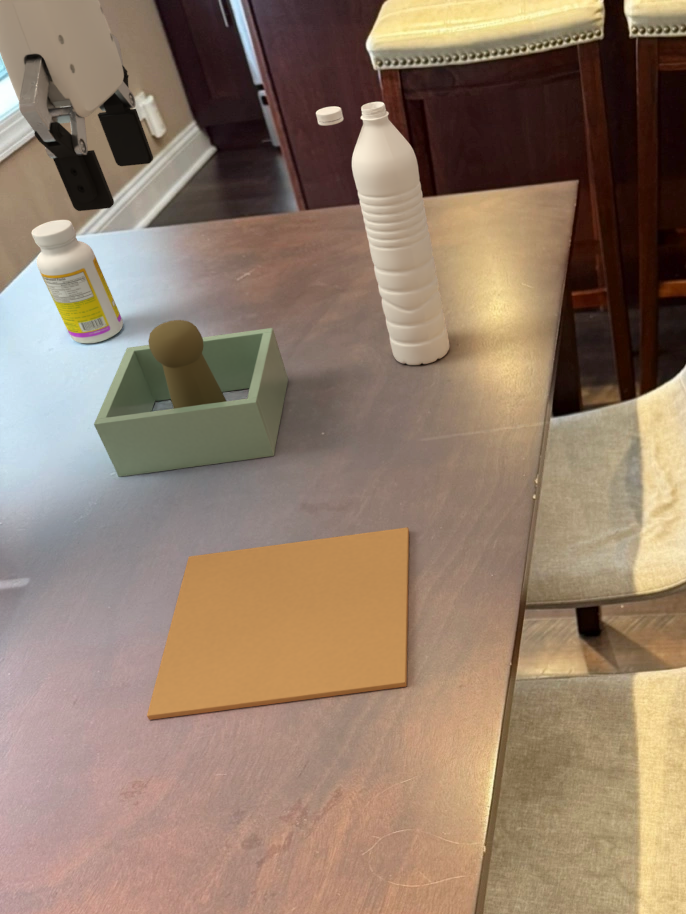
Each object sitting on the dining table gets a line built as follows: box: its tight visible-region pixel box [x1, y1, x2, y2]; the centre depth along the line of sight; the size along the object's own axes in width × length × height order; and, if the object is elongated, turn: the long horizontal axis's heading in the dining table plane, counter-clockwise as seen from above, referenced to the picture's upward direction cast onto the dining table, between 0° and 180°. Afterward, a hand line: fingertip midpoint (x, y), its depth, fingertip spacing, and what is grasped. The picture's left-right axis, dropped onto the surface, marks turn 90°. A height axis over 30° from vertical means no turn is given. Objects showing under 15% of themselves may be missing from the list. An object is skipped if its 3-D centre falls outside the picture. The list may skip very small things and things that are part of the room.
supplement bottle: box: [31, 219, 124, 344], centre depth 122 cm, size 7×7×13 cm
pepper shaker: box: [147, 319, 227, 409], centre depth 103 cm, size 6×6×11 cm
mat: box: [146, 526, 410, 721], centre depth 84 cm, size 20×20×1 cm
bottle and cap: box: [315, 101, 450, 366], centre depth 105 cm, size 9×6×25 cm
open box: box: [93, 327, 289, 478], centre depth 105 cm, size 16×16×6 cm
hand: (116, 185), depth 83 cm, fingers open, 9 cm apart
